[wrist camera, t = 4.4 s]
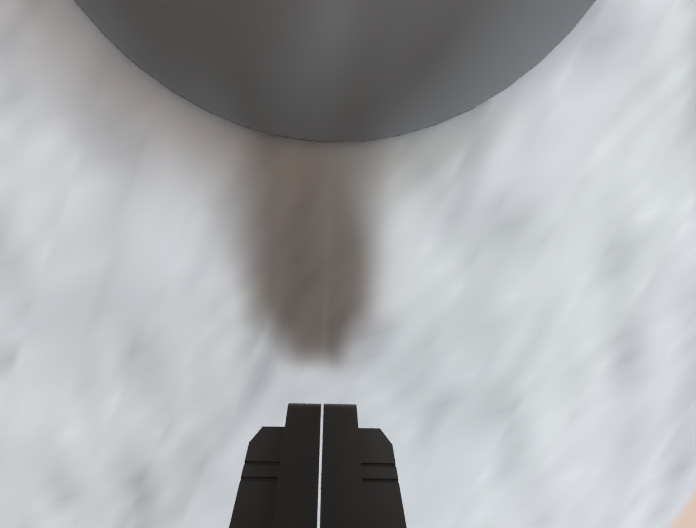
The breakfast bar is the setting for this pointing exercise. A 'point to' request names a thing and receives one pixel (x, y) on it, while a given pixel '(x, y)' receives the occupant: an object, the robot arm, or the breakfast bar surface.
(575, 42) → the breakfast bar surface
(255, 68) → the disc
